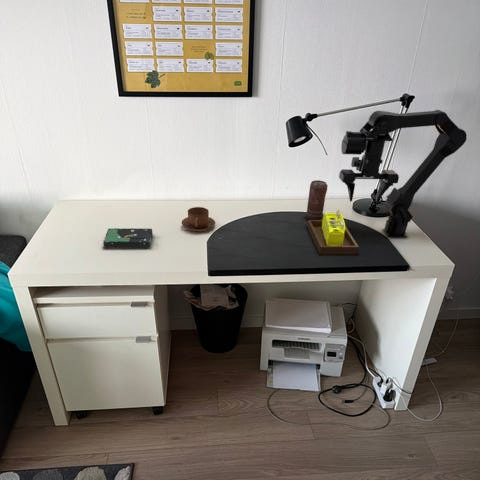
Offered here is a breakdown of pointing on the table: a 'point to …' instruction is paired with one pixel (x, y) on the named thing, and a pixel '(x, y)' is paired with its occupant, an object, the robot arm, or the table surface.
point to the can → (316, 200)
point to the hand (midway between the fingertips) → (363, 201)
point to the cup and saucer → (198, 220)
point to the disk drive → (128, 238)
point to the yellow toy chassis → (333, 228)
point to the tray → (346, 249)
